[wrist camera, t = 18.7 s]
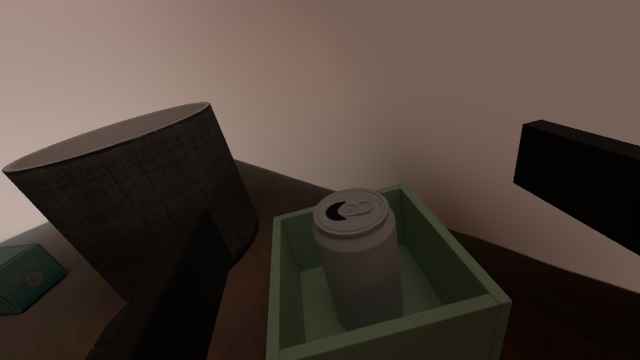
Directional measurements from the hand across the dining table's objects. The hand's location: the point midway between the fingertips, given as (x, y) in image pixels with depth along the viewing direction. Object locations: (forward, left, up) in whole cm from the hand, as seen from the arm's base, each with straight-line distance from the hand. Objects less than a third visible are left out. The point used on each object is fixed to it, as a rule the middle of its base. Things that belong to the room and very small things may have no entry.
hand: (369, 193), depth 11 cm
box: (+53, -25, -18) cm, 61 cm away
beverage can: (0, -7, -17) cm, 19 cm away
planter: (+24, -26, -18) cm, 40 cm away
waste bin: (0, -7, -18) cm, 19 cm away
